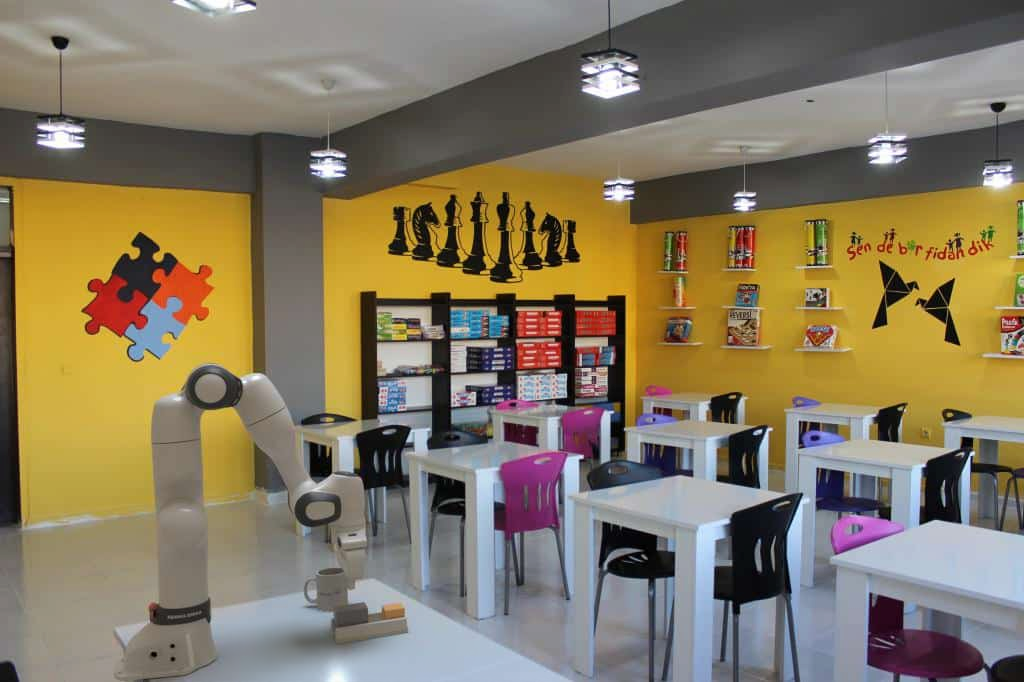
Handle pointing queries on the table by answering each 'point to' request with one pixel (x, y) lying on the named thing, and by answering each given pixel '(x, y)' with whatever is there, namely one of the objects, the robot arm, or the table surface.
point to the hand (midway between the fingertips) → (350, 588)
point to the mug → (329, 589)
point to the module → (350, 615)
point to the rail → (374, 625)
